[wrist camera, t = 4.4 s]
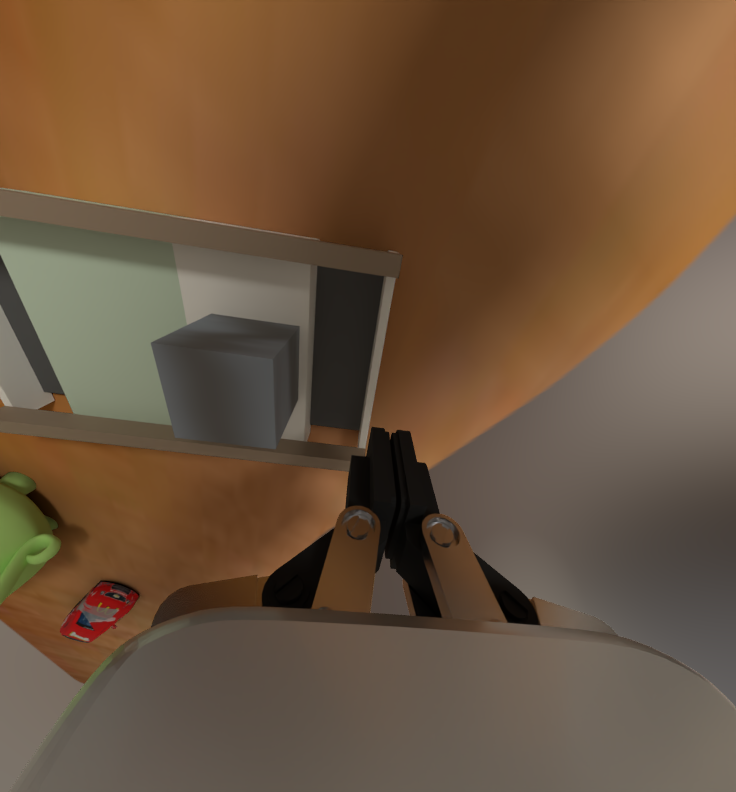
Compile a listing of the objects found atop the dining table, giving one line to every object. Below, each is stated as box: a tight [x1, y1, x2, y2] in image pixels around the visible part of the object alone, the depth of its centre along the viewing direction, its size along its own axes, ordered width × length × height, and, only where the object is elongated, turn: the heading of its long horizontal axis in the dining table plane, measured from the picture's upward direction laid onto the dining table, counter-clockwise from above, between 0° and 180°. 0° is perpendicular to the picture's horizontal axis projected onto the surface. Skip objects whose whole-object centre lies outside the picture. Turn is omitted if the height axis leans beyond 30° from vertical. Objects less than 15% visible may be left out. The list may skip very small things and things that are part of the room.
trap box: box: [0, 188, 403, 472], centre depth 17 cm, size 25×14×4 cm, turn 82°
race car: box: [60, 581, 139, 643], centre depth 36 cm, size 13×5×4 cm, turn 133°
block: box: [151, 314, 300, 449], centre depth 15 cm, size 5×5×5 cm
